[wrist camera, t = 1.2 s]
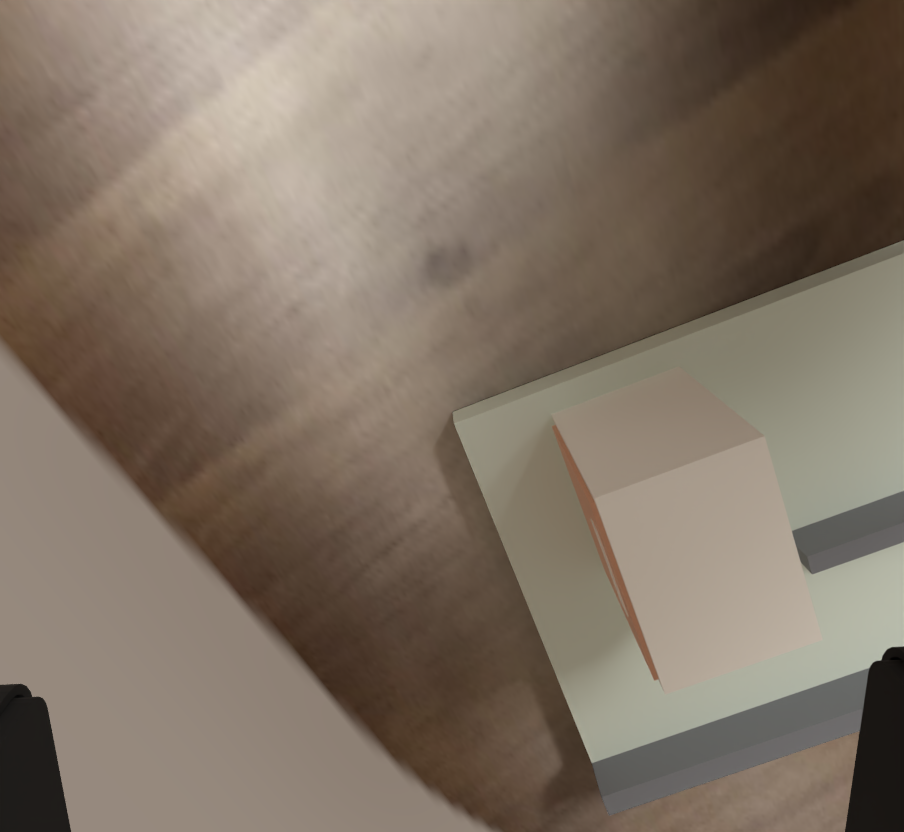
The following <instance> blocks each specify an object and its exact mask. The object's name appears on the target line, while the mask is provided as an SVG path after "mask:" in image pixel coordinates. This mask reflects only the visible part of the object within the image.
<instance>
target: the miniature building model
mask: <svg viewBox="0 0 904 832" xmlns="http://www.w3.org/2000/svg"><path fill="white" fill-rule="evenodd" d="M678 366H679V367H681V368H682V369H683V370H684V371H685V372H687V373H688V374H689V375H690V376H692V377H693V378H694V379H695V380H697V381H698V382H699V383H700V384H701V385H703V386H704V387H705V388H706V389H708V390H709V391H710V392H711V393H713V394H714V395H715V396H716V397H717V398H719V399H720V400H721V401H722V402H724V403H725V404H726V405H727V406H728V407H730V408H731V409H732V410H733V411H735V412H736V413H737V414H738V415H740V416H741V417H742V418H743V419H744V420H746V421H747V422H748V423H749V424H751V425H752V426H753V427H754V428H756V429H757V430H758V431H759V432H760V433H762V434H763V435H764V436H765V439H766V442H767V446H768V449H769V453H770V456H771V460H772V463H773V467H774V470H775V474H776V477H777V481H778V484H779V488H780V491H781V495H782V498H783V502H784V505H785V509H786V512H787V516H788V520H789V523H790V527H791V530H792V534H793V537H794V541H795V544H796V548H797V551H798V555H799V558H800V562H801V565H802V569H803V572H804V576H805V579H806V583H807V586H808V590H809V593H810V597H811V600H812V604H813V607H814V611H815V614H816V618H817V621H818V625H819V628H820V632H821V635H822V639H823V640H821V641H818V642H815V643H813V644H810V645H807V646H804V647H801V648H798V649H795V650H792V651H790V652H787V653H784V654H781V655H778V656H775V657H772V658H769V659H766V660H764V661H761V662H758V663H755V664H752V665H749V666H746V667H743V668H741V669H738V670H735V671H732V672H729V673H726V674H723V675H720V676H718V677H715V678H712V679H709V680H706V681H703V682H700V683H697V684H695V685H692V686H689V687H686V688H683V689H680V690H677V691H674V692H671V693H669V694H666V695H665V693H664V691H663V689H662V686H661V684H660V682H659V680H655V681H654V679H653V677H652V675H651V672H650V670H649V668H648V666H647V663H646V661H645V659H644V657H643V655H642V652H641V650H640V648H639V646H638V643H637V641H636V639H635V637H634V635H633V632H632V630H631V628H630V626H629V623H628V621H627V619H626V617H625V614H624V612H623V610H622V608H621V606H620V603H619V601H618V599H617V597H616V594H615V592H614V590H613V588H612V586H611V583H610V581H609V579H608V577H607V574H606V572H605V570H604V567H603V564H602V562H601V559H600V556H599V554H598V551H597V548H596V545H595V543H594V540H593V537H592V534H591V532H590V529H589V526H588V524H587V521H586V518H585V515H584V513H583V510H582V507H581V505H580V502H579V499H578V496H577V494H576V491H575V488H574V486H573V483H572V480H571V477H570V475H569V472H568V469H567V467H566V464H565V461H564V458H563V456H562V453H561V450H560V448H559V445H558V442H557V439H556V437H555V434H554V431H553V428H552V426H553V425H555V423H554V421H553V418H552V415H551V414H553V413H556V412H559V411H561V410H564V409H567V408H569V407H572V406H575V405H577V404H580V403H583V402H585V401H588V400H591V399H593V398H596V397H598V396H601V395H604V394H606V393H609V392H612V391H614V390H617V389H620V388H622V387H625V386H628V385H630V384H633V383H636V382H638V381H641V380H644V379H646V378H649V377H652V376H654V375H657V374H660V373H662V372H665V371H668V370H670V369H673V368H675V367H678ZM452 413H453V420H454V425H455V428H456V430H457V433H458V435H459V437H460V440H461V442H462V445H463V447H464V450H465V452H466V455H467V457H468V460H469V462H470V465H471V467H472V469H473V472H474V474H475V477H476V479H477V482H478V484H479V487H480V489H481V492H482V494H483V497H484V499H485V501H486V504H487V506H488V509H489V511H490V514H491V516H492V519H493V521H494V524H495V526H496V529H497V531H498V533H499V536H500V538H501V541H502V543H503V546H504V548H505V551H506V553H507V556H508V558H509V561H510V563H511V565H512V568H513V570H514V573H515V575H516V578H517V580H518V583H519V585H520V588H521V590H522V593H523V595H524V598H525V600H526V602H527V605H528V607H529V610H530V612H531V615H532V617H533V620H534V622H535V625H536V627H537V630H538V632H539V634H540V637H541V639H542V642H543V644H544V647H545V649H546V652H547V654H548V657H549V659H550V662H551V664H552V666H553V669H554V671H555V674H556V676H557V679H558V681H559V684H560V686H561V689H562V691H563V694H564V696H565V698H566V701H567V703H568V706H569V708H570V711H571V713H572V716H573V718H574V721H575V723H576V726H577V728H578V730H579V733H580V735H581V738H582V740H583V743H584V745H585V748H586V750H587V753H588V755H589V758H590V760H591V763H592V766H593V769H594V773H595V776H596V780H597V783H598V787H599V790H600V794H601V797H602V800H603V802H604V805H605V807H606V809H607V812H608V814H609V815H612V814H615V813H618V812H621V811H624V810H627V809H630V808H633V807H636V806H639V805H642V804H645V803H648V802H651V801H654V800H657V799H660V798H663V797H665V796H668V795H671V794H674V793H677V792H680V791H683V790H686V789H689V788H692V787H695V786H698V785H701V784H704V783H707V782H710V781H713V780H716V779H719V778H722V777H725V776H728V775H731V774H734V773H736V772H739V771H742V770H745V769H748V768H751V767H754V766H757V765H760V764H763V763H766V762H769V761H772V760H775V759H778V758H781V757H784V756H787V755H790V754H793V753H796V752H799V751H802V750H805V749H807V748H810V747H813V746H816V745H819V744H822V743H825V742H828V741H831V740H834V739H837V738H840V737H843V736H846V735H849V734H852V733H855V732H858V731H860V726H861V719H862V712H863V706H864V699H865V692H866V685H867V678H868V672H869V668H870V666H871V665H872V663H873V662H875V661H880V660H882V656H883V654H884V653H885V651H886V650H887V649H889V648H891V647H903V646H904V240H903V241H901V242H898V243H895V244H893V245H890V246H887V247H885V248H882V249H880V250H877V251H874V252H872V253H869V254H866V255H864V256H861V257H859V258H856V259H853V260H851V261H848V262H845V263H843V264H840V265H837V266H835V267H832V268H830V269H827V270H824V271H822V272H819V273H816V274H814V275H811V276H809V277H806V278H803V279H801V280H798V281H795V282H793V283H790V284H788V285H785V286H782V287H780V288H777V289H774V290H772V291H769V292H767V293H764V294H761V295H759V296H756V297H753V298H751V299H748V300H745V301H743V302H740V303H738V304H735V305H732V306H730V307H727V308H724V309H722V310H719V311H717V312H714V313H711V314H709V315H706V316H703V317H701V318H698V319H696V320H693V321H690V322H688V323H685V324H682V325H680V326H677V327H674V328H672V329H669V330H667V331H664V332H661V333H659V334H656V335H653V336H651V337H648V338H646V339H643V340H640V341H638V342H635V343H632V344H630V345H627V346H625V347H622V348H619V349H617V350H614V351H611V352H609V353H606V354H603V355H601V356H598V357H596V358H593V359H590V360H588V361H585V362H582V363H580V364H577V365H575V366H572V367H569V368H567V369H564V370H561V371H559V372H556V373H554V374H551V375H548V376H546V377H543V378H540V379H538V380H535V381H533V382H530V383H527V384H525V385H522V386H519V387H517V388H514V389H511V390H509V391H506V392H504V393H501V394H498V395H496V396H493V397H490V398H488V399H485V400H483V401H480V402H477V403H475V404H472V405H469V406H467V407H464V408H462V409H459V410H456V411H454V412H452Z"/></svg>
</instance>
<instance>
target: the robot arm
mask: <svg viewBox="0 0 904 832" xmlns="http://www.w3.org/2000/svg"><path fill="white" fill-rule="evenodd" d="M0 832H71V829H70V824H69V819H68V814H67V808H66V803H65V798H64V792H63V787H62V782H61V777H60V771H59V766H58V761H57V755H56V750H55V745H54V740H53V734H52V729H51V724H50V719H49V713H48V708H47V705H46V703H45V701H44V699H43V698H41V697H32V695H31V692H30V690H29V689H28V688H27V686H25V685H23V684H10V685H0ZM845 832H904V646H903V647H891V648H889V649H887V650H886V651H885V653H884V654H883V656H882V660H880V661H875V662H873V663H872V665H871V666H870V668H869V672H868V678H867V685H866V692H865V699H864V706H863V712H862V719H861V726H860V733H859V740H858V747H857V754H856V761H855V767H854V774H853V781H852V788H851V795H850V802H849V809H848V815H847V822H846V829H845Z"/></svg>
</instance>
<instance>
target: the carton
mask: <svg viewBox="0 0 904 832" xmlns="http://www.w3.org/2000/svg"><path fill="white" fill-rule="evenodd" d="M551 415H552V418H553V421H554V423H555V425H553V426H552V428H553V431H554V434H555V437H556V439H557V442H558V445H559V448H560V450H561V453H562V456H563V458H564V461H565V464H566V467H567V469H568V472H569V475H570V477H571V480H572V483H573V486H574V488H575V491H576V494H577V496H578V499H579V502H580V505H581V507H582V510H583V513H584V515H585V518H586V521H587V524H588V526H589V529H590V532H591V534H592V537H593V540H594V543H595V545H596V548H597V551H598V554H599V556H600V559H601V562H602V564H603V567H604V570H605V572H606V574H607V577H608V579H609V581H610V583H611V586H612V588H613V590H614V592H615V594H616V597H617V599H618V601H619V603H620V606H621V608H622V610H623V612H624V614H625V617H626V619H627V621H628V623H629V626H630V628H631V630H632V632H633V635H634V637H635V639H636V641H637V643H638V646H639V648H640V650H641V652H642V655H643V657H644V659H645V661H646V663H647V666H648V668H649V670H650V672H651V675H652V677H653V679H654V681H655V680H659V682H660V684H661V686H662V689H663V691H664V693H665V695H666V694H669V693H671V692H674V691H677V690H680V689H683V688H686V687H689V686H692V685H695V684H697V683H700V682H703V681H706V680H709V679H712V678H715V677H718V676H720V675H723V674H726V673H729V672H732V671H735V670H738V669H741V668H743V667H746V666H749V665H752V664H755V663H758V662H761V661H764V660H766V659H769V658H772V657H775V656H778V655H781V654H784V653H787V652H790V651H792V650H795V649H798V648H801V647H804V646H807V645H810V644H813V643H815V642H818V641H821V640H823V639H822V635H821V632H820V628H819V625H818V621H817V618H816V614H815V611H814V607H813V604H812V600H811V597H810V593H809V590H808V586H807V583H806V579H805V576H804V572H803V569H802V565H801V562H800V558H799V555H798V551H797V548H796V544H795V541H794V537H793V534H792V530H791V527H790V523H789V520H788V516H787V512H786V509H785V505H784V502H783V498H782V495H781V491H780V488H779V484H778V481H777V477H776V474H775V470H774V467H773V463H772V460H771V456H770V453H769V449H768V446H767V442H766V439H765V436H764V435H763V434H762V433H760V432H759V431H758V430H757V429H756V428H754V427H753V426H752V425H751V424H749V423H748V422H747V421H746V420H744V419H743V418H742V417H741V416H740V415H738V414H737V413H736V412H735V411H733V410H732V409H731V408H730V407H728V406H727V405H726V404H725V403H724V402H722V401H721V400H720V399H719V398H717V397H716V396H715V395H714V394H713V393H711V392H710V391H709V390H708V389H706V388H705V387H704V386H703V385H701V384H700V383H699V382H698V381H697V380H695V379H694V378H693V377H692V376H690V375H689V374H688V373H687V372H685V371H684V370H683V369H682V368H681V367H679V366H678V367H675V368H673V369H670V370H668V371H665V372H662V373H660V374H657V375H654V376H652V377H649V378H646V379H644V380H641V381H638V382H636V383H633V384H630V385H628V386H625V387H622V388H620V389H617V390H614V391H612V392H609V393H606V394H604V395H601V396H598V397H596V398H593V399H591V400H588V401H585V402H583V403H580V404H577V405H575V406H572V407H569V408H567V409H564V410H561V411H559V412H556V413H553V414H551Z"/></svg>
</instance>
